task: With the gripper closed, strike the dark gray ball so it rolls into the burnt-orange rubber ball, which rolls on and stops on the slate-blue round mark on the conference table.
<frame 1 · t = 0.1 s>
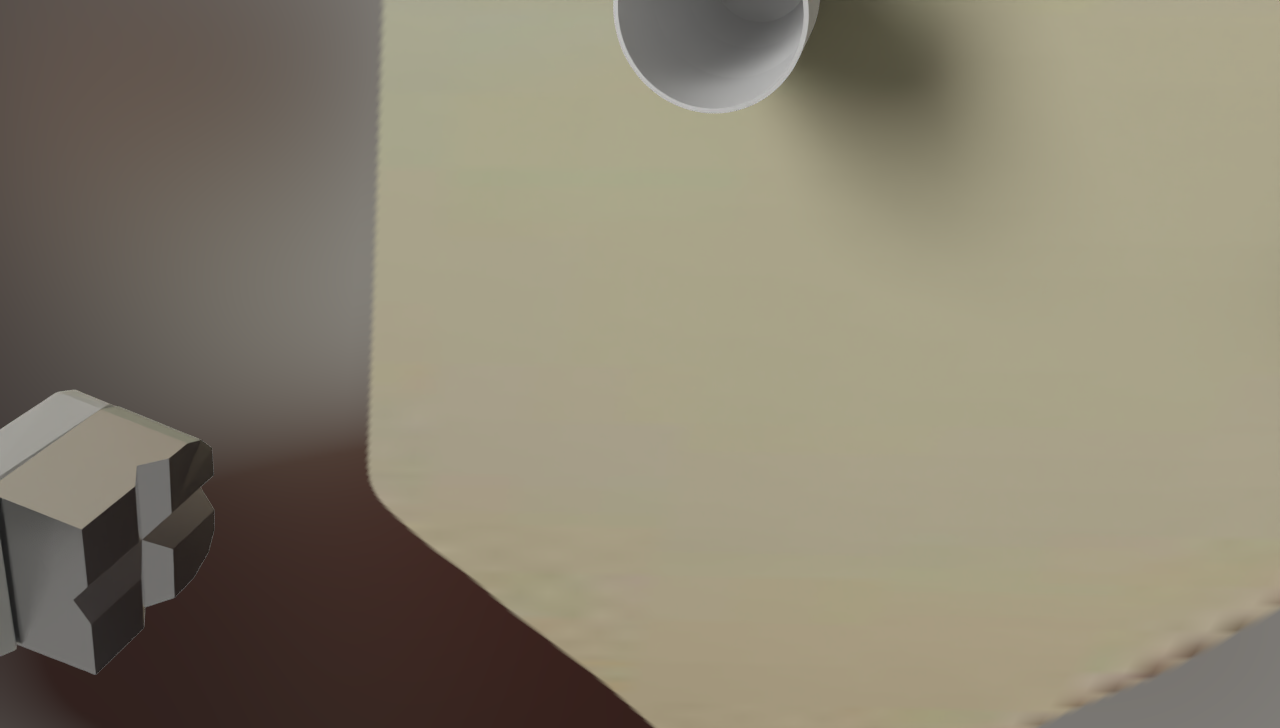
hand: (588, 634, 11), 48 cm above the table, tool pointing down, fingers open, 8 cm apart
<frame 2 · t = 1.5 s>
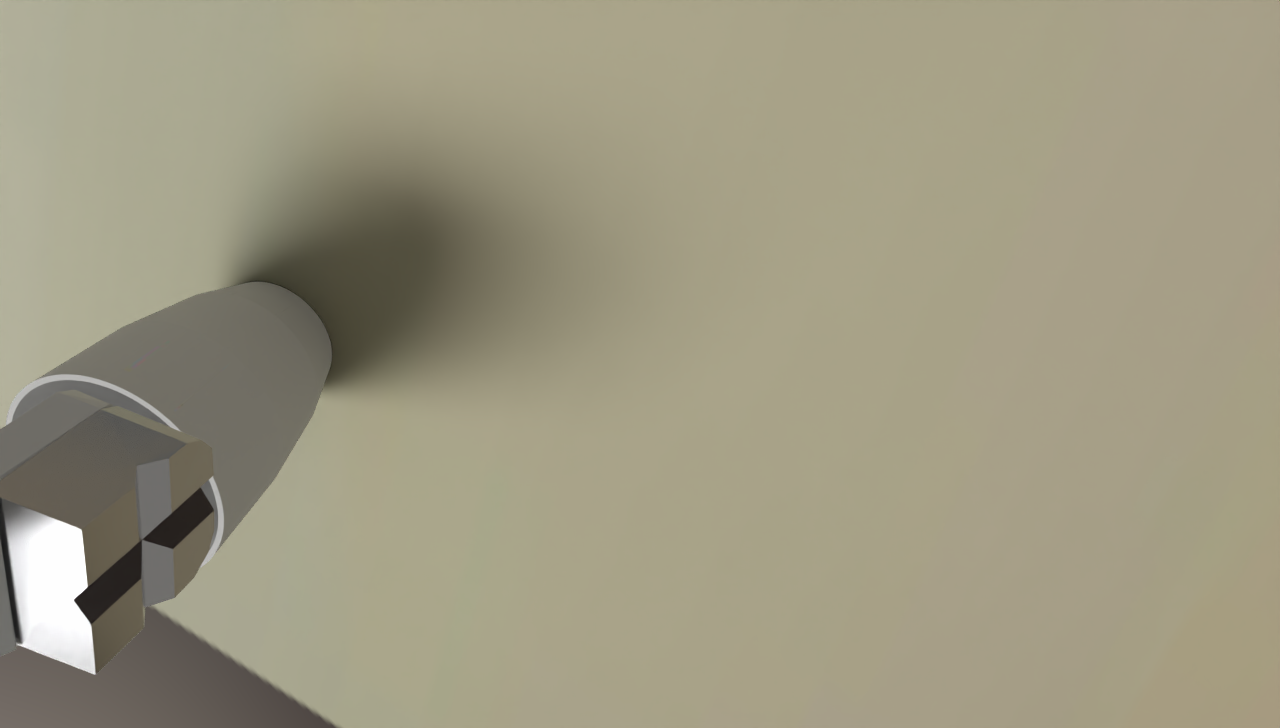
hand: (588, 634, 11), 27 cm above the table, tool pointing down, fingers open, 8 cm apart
cup: (278, 335, 46), on the table
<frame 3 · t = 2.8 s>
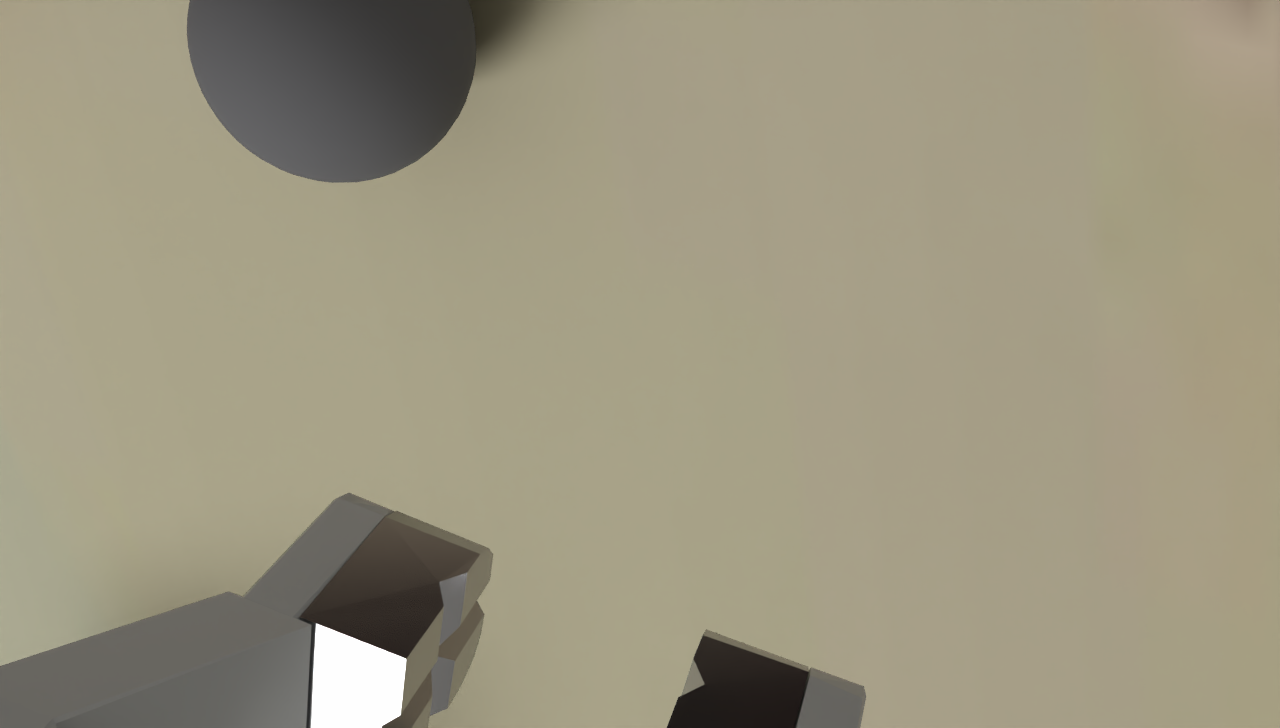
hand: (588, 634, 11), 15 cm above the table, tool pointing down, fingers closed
dark gray ball: (336, 42, 23), on the table
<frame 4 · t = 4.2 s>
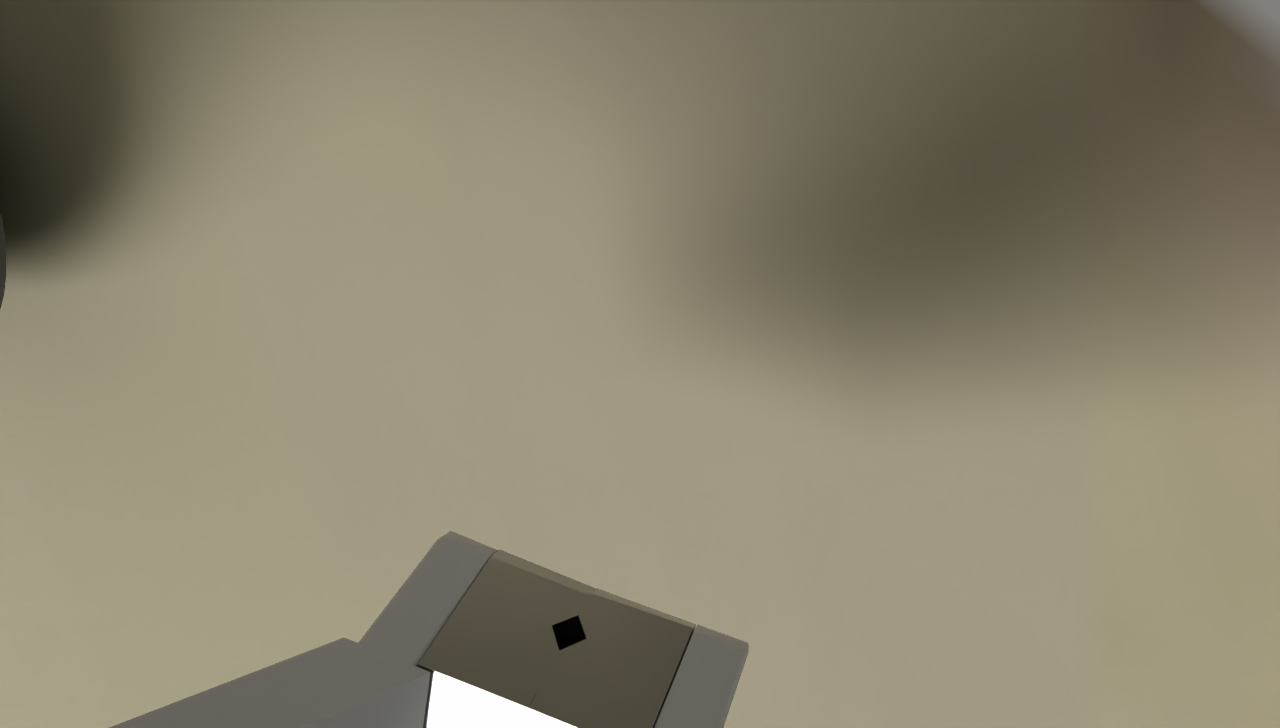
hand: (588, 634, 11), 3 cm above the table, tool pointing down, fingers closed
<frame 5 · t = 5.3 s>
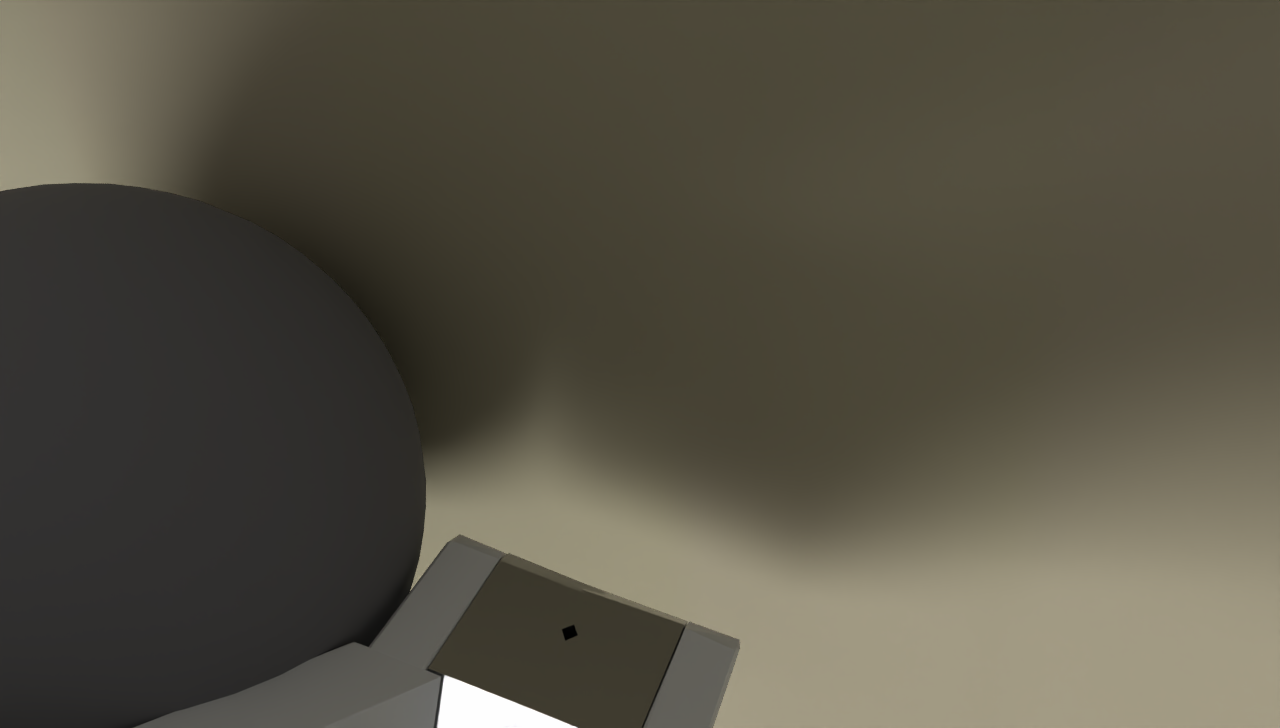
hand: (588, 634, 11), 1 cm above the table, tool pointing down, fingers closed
dark gray ball: (106, 501, 10), on the table, touching gripper
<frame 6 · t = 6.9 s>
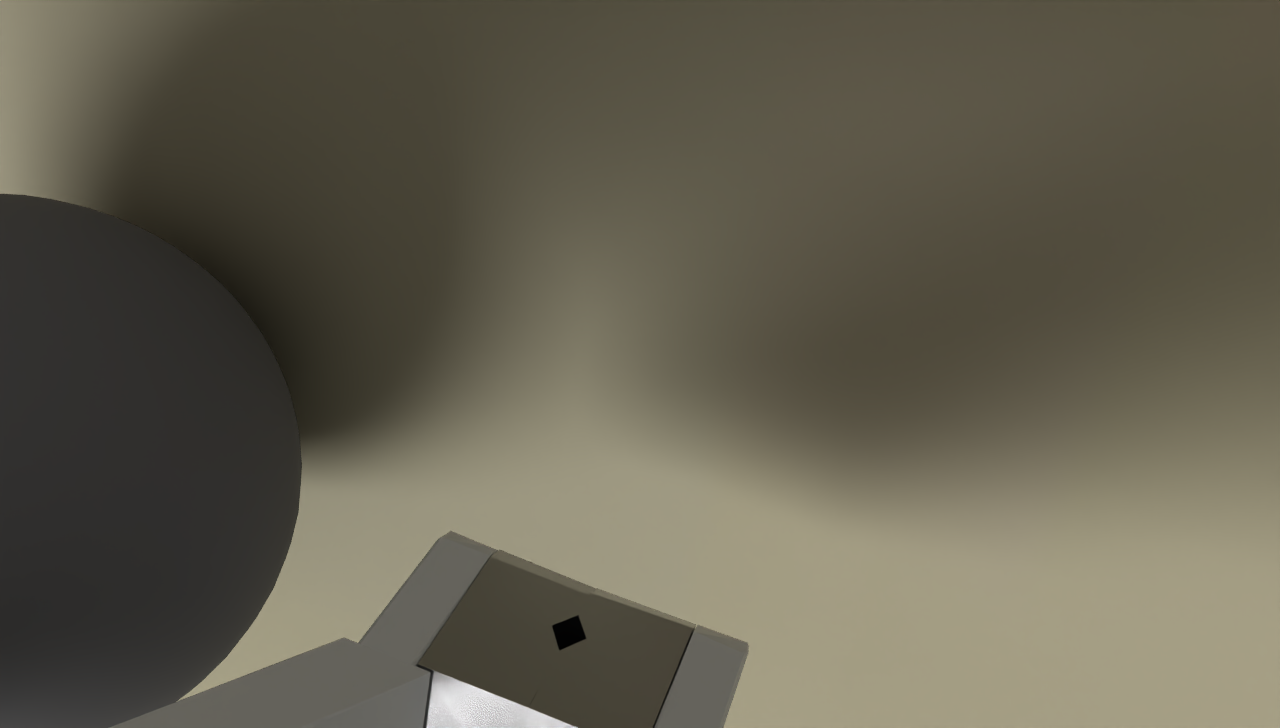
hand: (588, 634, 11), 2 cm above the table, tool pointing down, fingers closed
dark gray ball: (9, 476, 11), on the table
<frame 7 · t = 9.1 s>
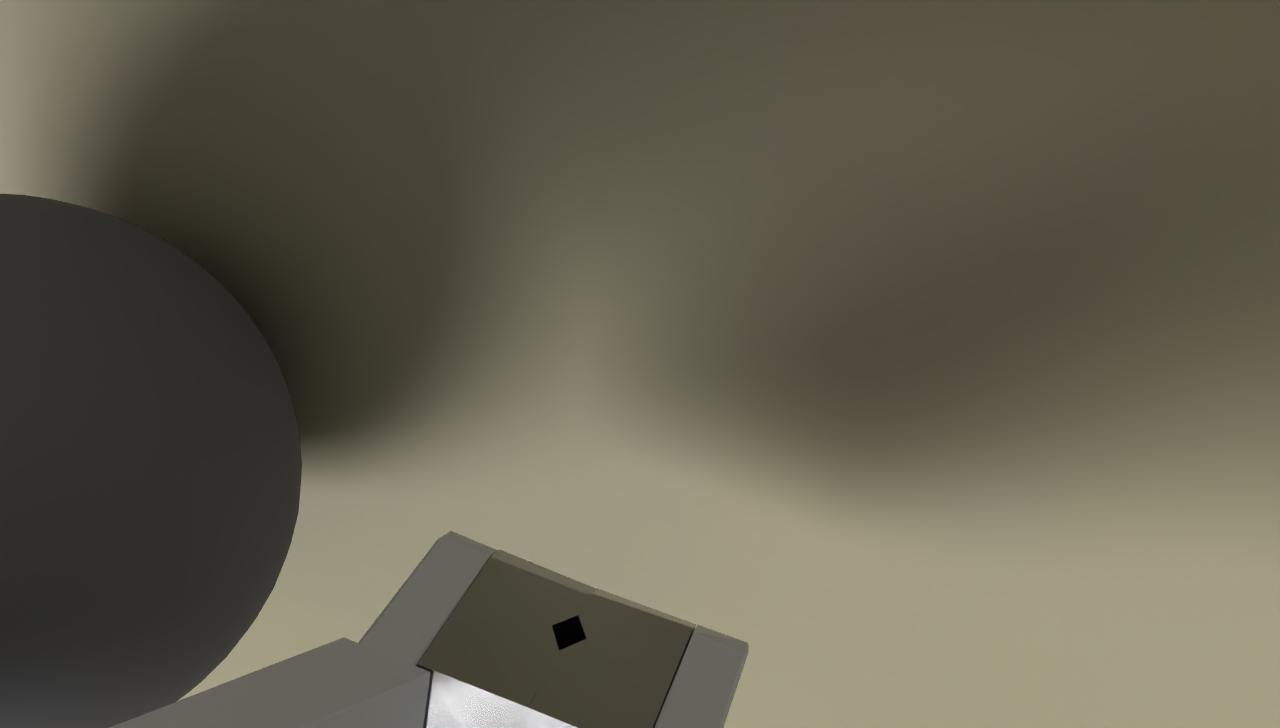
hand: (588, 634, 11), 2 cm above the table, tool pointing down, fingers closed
dark gray ball: (9, 476, 11), on the table
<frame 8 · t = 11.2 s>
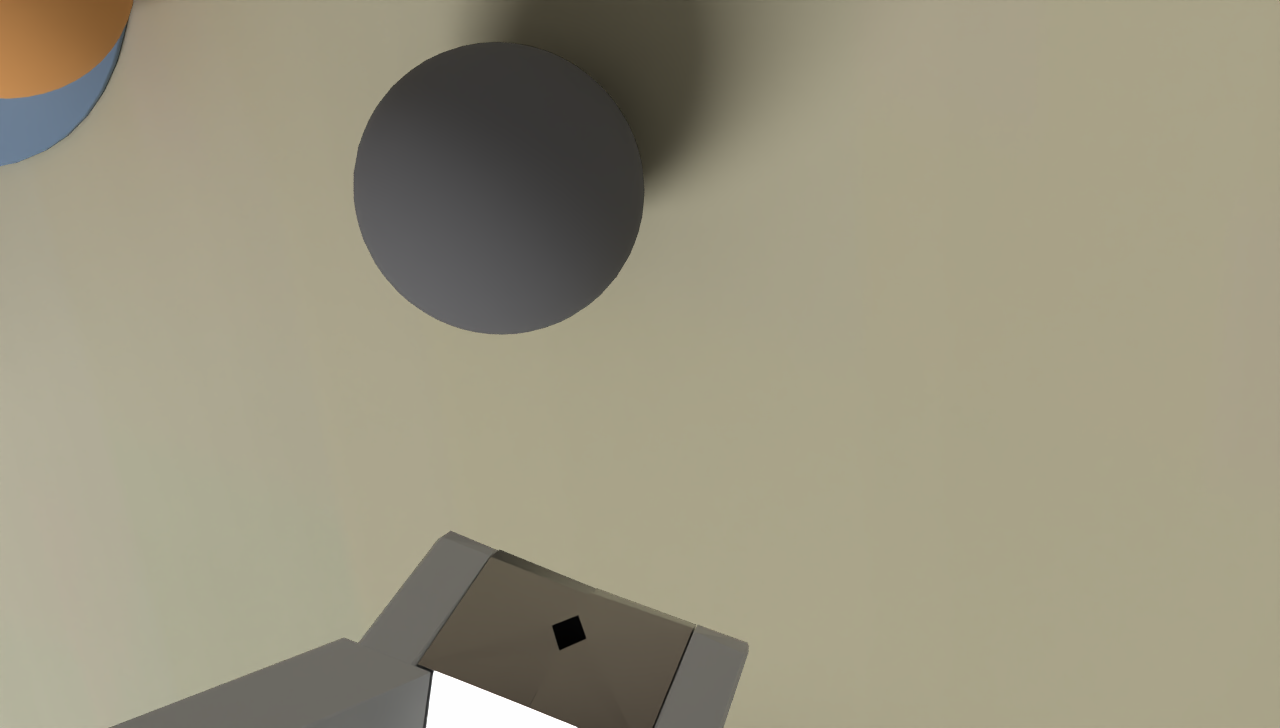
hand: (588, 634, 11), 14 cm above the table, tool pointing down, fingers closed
dark gray ball: (501, 191, 22), on the table
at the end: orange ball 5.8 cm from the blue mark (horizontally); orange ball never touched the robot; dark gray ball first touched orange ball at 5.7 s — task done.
